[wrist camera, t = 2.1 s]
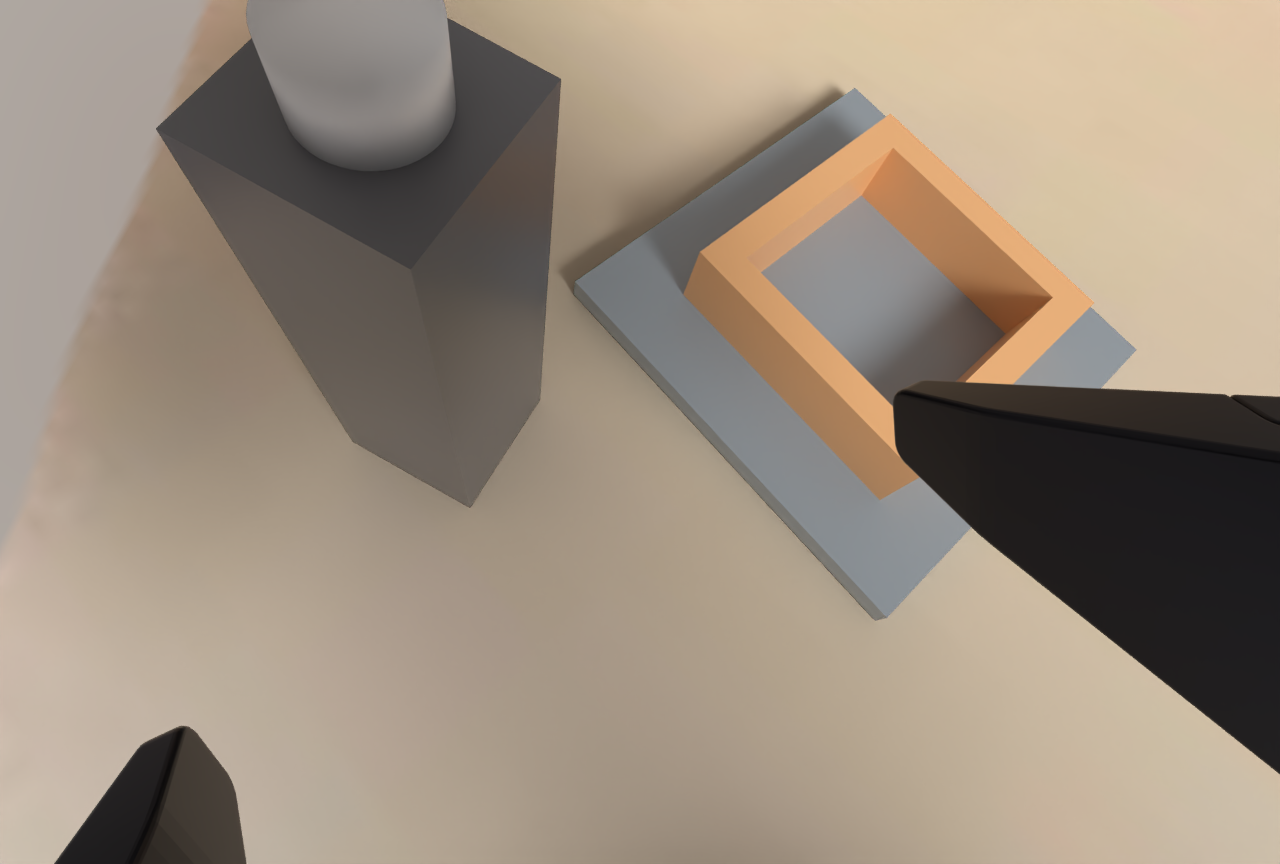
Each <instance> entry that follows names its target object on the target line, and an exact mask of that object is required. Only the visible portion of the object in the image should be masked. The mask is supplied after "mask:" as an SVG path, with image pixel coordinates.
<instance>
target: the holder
mask: <svg viewBox="0 0 1280 864" xmlns="http://www.w3.org/2000/svg"><path fill="white" fill-rule="evenodd" d="M574 295H575V296H576V297H577V298H578V299H579V301H580V302H581V303H582V304H583V305H584V306H585V307H586V308H587V309H588V310H589V311H590V312H591V314H592V315H593V316H594V317H595V318H596V319H597V320H598V321H599V322H600V323H601V324H602V325H603V327H604V328H605V329H606V330H607V331H608V332H609V333H610V334H611V335H612V336H613V337H614V338H615V340H616V341H617V342H618V343H619V344H620V345H621V346H622V347H623V348H624V349H625V350H626V351H627V353H628V354H629V355H630V356H631V357H632V358H633V359H634V360H635V361H636V362H637V363H638V364H639V366H640V367H641V368H642V369H643V370H644V371H645V372H646V373H647V374H648V375H649V376H650V377H651V379H652V380H653V381H654V382H655V383H656V384H657V385H658V386H659V387H660V388H661V389H662V390H663V392H664V393H665V394H666V395H667V396H668V397H669V398H670V399H671V400H672V401H673V402H674V403H675V405H676V406H677V407H678V408H679V409H680V410H681V411H682V412H683V413H684V414H685V415H686V416H687V418H688V419H689V420H690V421H691V422H692V423H693V424H694V425H695V426H696V427H697V428H698V429H699V431H700V432H701V433H702V434H703V435H704V436H705V437H706V438H707V439H708V440H709V441H710V442H711V444H712V445H713V446H714V447H715V448H716V449H717V450H718V451H719V452H720V453H721V454H722V455H723V457H724V458H725V459H726V460H727V461H728V462H729V463H730V464H731V465H732V466H733V467H734V468H735V470H736V471H737V472H738V473H739V474H740V475H741V476H742V477H743V478H744V479H745V480H746V481H747V483H748V484H749V485H750V486H751V487H752V488H753V489H754V490H755V491H756V492H757V493H758V494H759V496H760V497H761V498H762V499H763V500H764V501H765V502H766V503H767V504H768V505H769V506H770V507H771V509H772V510H773V511H774V512H775V513H776V514H777V515H778V516H779V517H780V518H781V519H782V520H783V522H784V523H785V524H786V525H787V526H788V527H789V528H790V529H791V530H792V531H793V532H794V533H795V535H796V536H797V537H798V538H799V539H800V540H801V541H802V542H803V543H804V544H805V545H806V546H807V548H808V549H809V550H810V551H811V552H812V553H813V554H814V555H815V556H816V557H817V558H818V559H819V561H820V562H821V563H822V564H823V565H824V566H825V567H826V568H827V569H828V570H829V571H830V572H831V574H832V575H833V576H834V577H835V578H836V579H837V580H838V581H839V582H840V583H841V584H842V585H843V587H844V588H845V589H846V590H847V591H848V592H849V593H850V594H851V595H852V596H853V597H854V598H855V600H856V601H857V602H858V603H859V604H860V605H861V606H862V607H863V608H864V609H865V610H866V611H867V613H868V614H869V615H870V616H871V617H872V618H873V619H874V620H879V619H884V618H887V617H888V616H889V615H890V614H891V613H892V612H893V611H894V609H895V608H896V607H897V606H898V605H899V604H900V603H901V602H902V601H903V600H904V599H905V598H906V597H907V596H908V594H909V593H910V592H911V591H912V590H913V589H914V588H915V587H916V586H917V585H918V584H919V583H920V582H921V581H922V579H923V578H924V577H925V576H926V575H927V574H928V573H929V572H930V571H931V570H932V569H933V568H934V567H935V565H936V564H937V563H938V562H939V561H940V560H941V559H942V558H943V557H944V556H945V555H946V554H947V553H948V552H949V550H950V549H951V548H952V547H953V546H954V545H955V544H956V543H957V542H958V541H959V540H960V539H961V538H962V537H963V535H964V534H965V533H966V532H967V531H968V530H969V529H970V528H971V527H970V526H969V525H968V524H967V523H966V522H965V521H964V520H963V519H962V518H961V517H960V516H959V515H958V514H957V513H956V512H955V511H954V510H953V509H952V508H951V507H950V506H949V505H948V504H947V503H946V502H945V501H943V500H942V499H941V498H940V497H939V496H938V495H937V494H936V493H935V492H934V491H933V490H932V489H931V488H930V487H929V486H928V485H927V484H926V483H925V482H924V481H923V480H922V479H921V478H920V477H919V476H918V475H917V474H916V473H915V472H914V471H913V470H912V469H911V468H910V467H909V466H908V465H906V464H905V463H904V461H903V460H902V459H901V457H900V456H899V454H898V452H897V449H896V446H895V435H894V418H893V399H894V396H895V394H896V393H897V392H898V391H899V390H901V389H903V388H905V387H907V386H909V385H912V384H914V383H916V382H918V381H922V380H931V381H952V382H973V383H995V384H1016V385H1037V386H1058V387H1079V388H1101V387H1102V386H1103V385H1104V384H1105V383H1106V382H1107V381H1108V380H1109V379H1110V378H1111V377H1112V376H1113V374H1114V373H1115V372H1116V371H1117V370H1118V369H1119V368H1120V367H1121V366H1122V365H1123V364H1124V363H1125V362H1126V361H1127V359H1128V358H1129V357H1130V356H1131V355H1132V354H1133V353H1134V352H1135V351H1136V349H1135V348H1134V347H1133V346H1132V345H1131V344H1130V343H1129V342H1128V341H1126V340H1125V339H1124V338H1123V337H1122V336H1121V335H1120V334H1119V333H1118V332H1117V331H1116V330H1115V329H1114V328H1112V327H1111V326H1110V325H1109V324H1108V323H1107V322H1106V321H1105V320H1104V319H1103V318H1102V317H1101V316H1100V315H1099V314H1097V313H1096V312H1095V311H1094V310H1093V309H1092V308H1091V306H1092V305H1093V304H1094V302H1093V301H1092V300H1091V299H1090V298H1089V297H1088V296H1086V295H1085V294H1084V293H1083V292H1082V291H1081V290H1080V289H1079V288H1078V287H1077V286H1076V285H1075V284H1074V283H1072V282H1071V281H1070V280H1069V279H1068V278H1067V277H1066V276H1065V275H1064V274H1063V273H1062V272H1061V271H1060V270H1058V269H1057V268H1056V267H1055V266H1054V265H1053V264H1052V263H1051V262H1050V261H1049V260H1048V259H1047V258H1046V257H1044V256H1043V255H1042V254H1041V253H1040V252H1039V251H1038V250H1037V249H1036V248H1035V247H1034V246H1033V245H1032V244H1030V243H1029V242H1028V241H1027V240H1026V239H1025V238H1024V237H1023V236H1022V235H1021V234H1020V233H1019V232H1018V231H1016V230H1015V229H1014V228H1013V227H1012V226H1011V225H1010V224H1009V223H1008V222H1007V221H1006V220H1005V219H1004V218H1002V217H1001V216H1000V215H999V214H998V213H997V212H996V211H995V210H994V209H993V208H992V207H991V206H989V205H988V204H987V203H986V202H985V201H984V200H983V199H982V198H981V197H980V196H979V195H978V194H977V193H975V192H974V191H973V190H972V189H971V188H970V187H969V186H968V185H967V184H966V183H965V182H964V181H963V180H961V179H960V178H959V177H958V176H957V175H956V174H955V173H954V172H953V171H952V170H951V169H950V168H949V167H947V166H946V165H945V164H944V163H943V162H942V161H941V160H940V159H939V158H938V157H937V156H936V155H935V154H933V153H932V152H931V151H930V150H929V149H928V148H927V147H926V146H925V145H924V144H923V143H922V142H921V141H919V140H918V139H917V138H916V137H915V136H914V135H913V134H912V133H911V132H910V131H909V130H908V129H906V128H905V127H904V126H903V125H902V124H901V123H900V122H899V121H898V120H897V119H896V118H895V117H894V116H892V115H891V114H889V115H888V116H885V115H883V114H882V113H881V112H880V111H879V110H878V109H877V108H876V107H875V106H874V105H873V104H872V103H871V102H869V101H868V100H867V99H866V98H865V97H864V96H863V95H862V94H861V93H860V92H859V91H858V90H857V89H855V88H854V89H853V90H851V91H850V92H848V93H847V94H845V95H844V96H843V97H841V98H840V99H838V100H837V101H835V102H834V103H832V104H831V105H829V106H828V107H827V108H825V109H824V110H822V111H821V112H819V113H818V114H816V115H815V116H814V117H812V118H811V119H809V120H808V121H806V122H805V123H803V124H802V125H801V126H799V127H798V128H796V129H795V130H793V131H792V132H790V133H789V134H788V135H786V136H785V137H783V138H782V139H780V140H779V141H777V142H776V143H775V144H773V145H772V146H770V147H769V148H767V149H766V150H764V151H763V152H762V153H760V154H759V155H757V156H756V157H754V158H753V159H751V160H750V161H748V162H747V163H746V164H744V165H743V166H741V167H740V168H738V169H737V170H735V171H734V172H733V173H731V174H730V175H728V176H727V177H725V178H724V179H722V180H721V181H720V182H718V183H717V184H715V185H714V186H712V187H711V188H709V189H708V190H707V191H705V192H704V193H702V194H701V195H699V196H698V197H696V198H695V199H694V200H692V201H691V202H689V203H688V204H686V205H685V206H683V207H682V208H681V209H679V210H678V211H676V212H675V213H673V214H672V215H670V216H669V217H667V218H666V219H665V220H663V221H662V222H660V223H659V224H657V225H656V226H654V227H653V228H652V229H650V230H649V231H647V232H646V233H644V234H643V235H641V236H640V237H639V238H637V239H636V240H634V241H633V242H631V243H630V244H628V245H627V246H626V247H624V248H623V249H621V250H620V251H618V252H617V253H615V254H614V255H613V256H611V257H610V258H608V259H607V260H605V261H604V262H602V263H601V264H600V265H598V266H597V267H595V268H594V269H592V270H591V271H589V272H588V273H586V274H585V275H584V276H582V277H581V278H579V279H578V280H576V281H575V286H574Z"/></svg>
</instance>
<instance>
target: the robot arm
mask: <svg viewBox="0 0 1280 864" xmlns="http://www.w3.org/2000/svg"><path fill="white" fill-rule="evenodd" d="M893 418H894V435H895V446H896V449H897V452H898V454H899V456H900V457H901V459H902V460H903V461H904V463H905V464H906V465H908V466H909V467H910V468H911V469H912V470H913V471H914V472H915V473H916V474H917V475H918V476H919V477H920V478H921V479H922V480H923V481H924V482H925V483H926V484H927V485H928V486H929V487H930V488H931V489H932V490H933V491H934V492H935V493H936V494H937V495H938V496H939V497H940V498H941V499H942V500H943V501H945V502H946V503H947V504H948V505H949V506H950V507H951V508H952V509H953V510H954V511H955V512H956V513H957V514H958V515H959V516H960V517H961V518H962V519H963V520H964V521H965V522H966V523H967V524H968V525H969V526H970V527H972V528H973V529H974V530H975V531H976V532H977V533H978V534H979V535H980V536H981V537H983V538H984V539H985V540H986V541H987V542H989V543H990V544H991V545H992V546H993V547H995V548H996V549H997V550H998V551H1000V552H1001V553H1002V554H1003V555H1005V556H1006V557H1007V558H1009V559H1010V560H1011V561H1012V562H1014V563H1015V564H1016V565H1017V566H1019V567H1020V568H1021V569H1022V570H1024V571H1025V572H1026V573H1027V574H1029V575H1030V576H1031V577H1032V578H1034V579H1035V580H1036V581H1037V582H1039V583H1040V584H1041V585H1042V586H1044V587H1045V588H1046V589H1047V590H1049V591H1050V592H1051V593H1053V594H1054V595H1055V596H1056V597H1058V598H1059V599H1060V600H1061V601H1063V602H1064V603H1065V604H1066V605H1068V606H1069V607H1070V608H1071V609H1073V610H1074V611H1075V612H1076V613H1078V614H1079V615H1080V616H1081V617H1083V618H1084V619H1085V620H1086V621H1088V622H1089V623H1090V624H1091V625H1093V626H1094V627H1095V628H1097V629H1098V630H1099V631H1100V632H1102V633H1103V634H1104V635H1105V636H1107V637H1108V638H1109V639H1110V640H1112V641H1113V642H1114V643H1115V644H1117V645H1118V646H1119V647H1120V648H1122V649H1123V650H1124V651H1125V652H1127V653H1128V654H1129V655H1130V656H1132V657H1133V658H1134V659H1135V660H1137V661H1138V662H1139V663H1141V664H1142V665H1143V666H1144V667H1146V668H1147V669H1148V670H1149V671H1151V672H1152V673H1153V674H1154V675H1156V676H1157V677H1158V678H1159V679H1161V680H1162V681H1163V682H1164V683H1166V684H1167V685H1168V686H1169V687H1171V688H1172V689H1173V690H1174V691H1176V692H1177V693H1178V694H1179V695H1181V696H1182V697H1183V698H1185V699H1186V700H1187V701H1188V702H1190V703H1191V704H1192V705H1193V706H1195V707H1196V708H1197V709H1198V710H1200V711H1201V712H1202V713H1203V714H1205V715H1206V716H1207V717H1208V718H1210V719H1211V720H1212V721H1213V722H1215V723H1216V724H1217V725H1218V726H1220V727H1221V728H1222V729H1224V730H1225V731H1226V732H1227V733H1229V734H1230V735H1231V736H1232V737H1234V738H1235V739H1236V740H1237V741H1239V742H1240V743H1241V744H1242V745H1244V746H1245V747H1246V748H1247V749H1249V750H1250V751H1251V752H1252V753H1254V754H1255V755H1256V756H1257V757H1259V758H1260V759H1261V760H1262V761H1264V762H1265V763H1266V764H1268V765H1269V766H1270V767H1271V768H1273V769H1274V770H1275V771H1276V772H1278V773H1279V774H1280V397H1273V396H1252V395H1232V396H1231V397H1229V396H1227V395H1225V394H1207V393H1185V392H1164V391H1143V390H1122V389H1101V388H1079V387H1058V386H1037V385H1016V384H995V383H973V382H952V381H931V380H922V381H918V382H916V383H914V384H912V385H909V386H907V387H905V388H903V389H901V390H899V391H898V392H897V393H896V394H895V396H894V399H893ZM54 864H247V863H246V857H245V850H244V844H243V837H242V831H241V824H240V817H239V811H238V804H237V798H236V792H235V789H234V786H233V783H232V781H231V779H230V777H229V775H228V773H227V772H226V771H225V769H224V768H223V767H222V765H221V764H220V763H219V761H218V760H217V759H216V758H215V756H214V755H213V754H212V752H211V751H210V750H209V748H208V747H207V746H206V745H205V743H204V742H203V741H202V739H201V738H200V737H199V735H198V734H197V733H196V732H195V731H194V730H193V729H191V728H190V727H187V726H179V727H176V728H174V729H172V730H170V731H168V732H166V733H164V734H161V735H159V736H157V737H155V738H153V739H151V740H149V741H147V742H145V743H143V744H142V745H141V746H140V747H139V748H138V749H137V751H136V752H135V753H134V755H133V756H132V757H131V759H130V760H129V762H128V763H127V764H126V766H125V767H124V768H123V770H122V771H121V773H120V774H119V775H118V777H117V778H116V779H115V781H114V782H113V784H112V785H111V786H110V788H109V789H108V790H107V792H106V793H105V795H104V796H103V797H102V799H101V800H100V801H99V803H98V804H97V806H96V807H95V808H94V810H93V811H92V812H91V814H90V815H89V817H88V818H87V819H86V821H85V822H84V823H83V825H82V826H81V828H80V829H79V830H78V832H77V833H76V834H75V836H74V837H73V839H72V840H71V841H70V843H69V844H68V845H67V847H66V848H65V850H64V851H63V852H62V854H61V855H60V856H59V858H58V859H57V861H56V862H55V863H54Z"/></svg>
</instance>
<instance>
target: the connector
mask: <svg viewBox="0 0 1280 864" xmlns="http://www.w3.org/2000/svg"><path fill="white" fill-rule="evenodd" d="M246 17H247V25H248V28H249V32H250V35H251V37H252V38H251V39H250V40H249V41H248V42H247V43H246V44H245V45H244V46H243V47H242V48H241V49H240V50H239V51H238V52H237V53H236V54H234V55H233V56H232V57H231V58H230V59H229V60H228V61H227V62H226V63H225V64H224V65H223V66H222V67H221V68H220V69H219V70H218V71H216V72H215V73H214V74H213V75H212V76H211V77H210V78H209V79H208V80H207V81H206V82H205V83H204V84H203V85H202V86H201V87H200V88H198V89H197V90H196V91H195V92H194V93H193V94H192V95H191V96H190V97H189V98H188V99H187V100H186V101H185V102H184V103H183V104H182V105H180V106H179V107H178V108H177V109H176V110H175V111H174V112H173V113H172V114H171V115H170V116H169V117H168V118H167V119H166V120H165V121H164V122H163V123H161V124H160V125H159V126H158V127H157V128H156V130H157V131H158V133H159V134H160V136H161V138H162V139H163V141H164V142H165V144H166V145H167V147H168V149H169V150H170V152H171V153H172V155H173V157H174V158H175V160H176V161H177V163H178V165H179V166H180V168H181V169H182V171H183V173H184V174H185V176H186V177H187V179H188V180H189V182H190V184H191V185H192V187H193V188H194V190H195V192H196V193H197V195H198V196H199V198H200V200H201V201H202V203H203V204H204V206H205V208H206V209H207V211H208V212H209V214H210V215H211V217H212V219H213V220H214V222H215V223H216V225H217V227H218V228H219V230H220V231H221V233H222V235H223V236H224V238H225V239H226V241H227V243H228V244H229V246H230V247H231V249H232V250H233V252H234V254H235V255H236V257H237V258H238V260H239V262H240V263H241V265H242V266H243V268H244V270H245V271H246V273H247V274H248V276H249V277H250V279H251V281H252V282H253V284H254V285H255V287H256V289H257V290H258V292H259V293H260V295H261V297H262V298H263V300H264V301H265V303H266V305H267V306H268V308H269V309H270V311H271V312H272V314H273V316H274V317H275V319H276V320H277V322H278V324H279V325H280V327H281V328H282V330H283V332H284V333H285V335H286V336H287V338H288V340H289V341H290V343H291V344H292V346H293V347H294V349H295V351H296V352H297V354H298V355H299V357H300V359H301V360H302V362H303V363H304V365H305V367H306V368H307V370H308V371H309V373H310V375H311V376H312V378H313V379H314V381H315V382H316V384H317V386H318V387H319V389H320V390H321V392H322V394H323V395H324V397H325V398H326V400H327V402H328V403H329V405H330V406H331V408H332V410H333V411H334V413H335V414H336V416H337V417H338V419H339V421H340V422H341V424H342V425H343V427H344V429H345V430H346V432H347V433H348V435H349V437H350V438H351V440H352V441H353V442H354V443H356V444H358V445H360V446H361V447H363V448H365V449H367V450H368V451H370V452H372V453H374V454H376V455H377V456H379V457H381V458H383V459H384V460H386V461H388V462H390V463H391V464H393V465H395V466H397V467H399V468H400V469H402V470H404V471H406V472H407V473H409V474H411V475H413V476H414V477H416V478H418V479H420V480H422V481H423V482H425V483H427V484H429V485H430V486H432V487H434V488H436V489H437V490H439V491H441V492H443V493H445V494H446V495H448V496H450V497H452V498H453V499H455V500H457V501H459V502H460V503H462V504H464V505H466V506H468V507H469V508H470V507H471V506H472V504H473V502H474V501H475V499H476V498H477V496H478V495H479V493H480V492H481V490H482V489H483V487H484V485H485V484H486V482H487V481H488V479H489V478H490V476H491V475H492V473H493V472H494V470H495V468H496V467H497V465H498V464H499V462H500V461H501V459H502V458H503V456H504V455H505V453H506V451H507V450H508V448H509V447H510V445H511V444H512V442H513V441H514V439H515V438H516V436H517V434H518V433H519V431H520V430H521V428H522V427H523V425H524V424H525V422H526V421H527V419H528V417H529V416H530V414H531V413H532V411H533V410H534V408H535V407H536V405H537V404H538V402H539V400H540V391H541V376H542V360H543V345H544V330H545V315H546V300H547V285H548V269H549V254H550V239H551V224H552V209H553V194H554V178H555V163H556V148H557V133H558V118H559V102H560V87H561V79H560V78H558V77H556V76H554V75H553V74H551V73H549V72H547V71H545V70H543V69H541V68H540V67H538V66H536V65H534V64H532V63H530V62H528V61H527V60H525V59H523V58H521V57H519V56H517V55H515V54H514V53H512V52H510V51H508V50H506V49H504V48H502V47H500V46H499V45H497V44H495V43H493V42H491V41H489V40H487V39H486V38H484V37H482V36H480V35H478V34H476V33H474V32H473V31H471V30H469V29H467V28H465V27H463V26H461V25H460V24H458V23H456V22H454V21H452V20H450V19H448V18H447V13H446V8H445V4H444V1H443V0H248V3H247V11H246Z"/></svg>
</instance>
